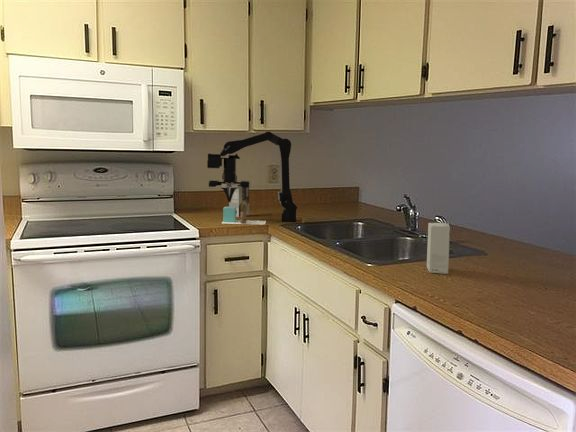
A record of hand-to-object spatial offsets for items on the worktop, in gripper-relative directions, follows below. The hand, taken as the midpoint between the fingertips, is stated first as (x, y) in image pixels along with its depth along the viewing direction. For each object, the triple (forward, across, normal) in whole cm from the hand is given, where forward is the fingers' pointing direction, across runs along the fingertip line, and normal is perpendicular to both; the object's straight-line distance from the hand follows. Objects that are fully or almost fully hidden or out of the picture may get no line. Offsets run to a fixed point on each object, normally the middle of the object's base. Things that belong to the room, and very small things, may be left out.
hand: (229, 202), depth 234 cm
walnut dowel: (+10, -7, +4) cm, 13 cm away
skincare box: (+10, -77, +76) cm, 109 cm away
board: (+10, -7, +1) cm, 12 cm away
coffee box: (+10, -2, -19) cm, 22 cm away
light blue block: (+9, 0, 0) cm, 9 cm away
